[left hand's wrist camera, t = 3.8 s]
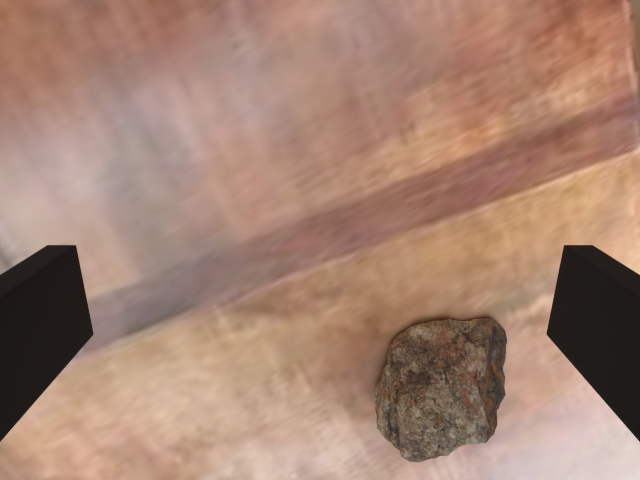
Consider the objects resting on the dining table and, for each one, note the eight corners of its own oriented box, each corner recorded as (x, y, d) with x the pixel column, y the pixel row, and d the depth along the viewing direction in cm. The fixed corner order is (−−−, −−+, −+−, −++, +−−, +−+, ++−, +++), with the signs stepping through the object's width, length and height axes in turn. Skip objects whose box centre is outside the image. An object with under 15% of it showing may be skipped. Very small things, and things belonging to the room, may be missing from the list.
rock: (504, 380, 48) (496, 298, 45) (549, 440, 40) (543, 346, 37) (372, 412, 48) (354, 332, 45) (390, 478, 40) (370, 388, 37)
